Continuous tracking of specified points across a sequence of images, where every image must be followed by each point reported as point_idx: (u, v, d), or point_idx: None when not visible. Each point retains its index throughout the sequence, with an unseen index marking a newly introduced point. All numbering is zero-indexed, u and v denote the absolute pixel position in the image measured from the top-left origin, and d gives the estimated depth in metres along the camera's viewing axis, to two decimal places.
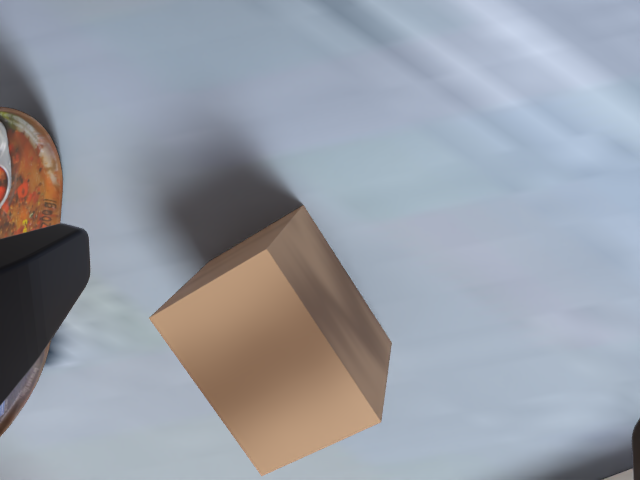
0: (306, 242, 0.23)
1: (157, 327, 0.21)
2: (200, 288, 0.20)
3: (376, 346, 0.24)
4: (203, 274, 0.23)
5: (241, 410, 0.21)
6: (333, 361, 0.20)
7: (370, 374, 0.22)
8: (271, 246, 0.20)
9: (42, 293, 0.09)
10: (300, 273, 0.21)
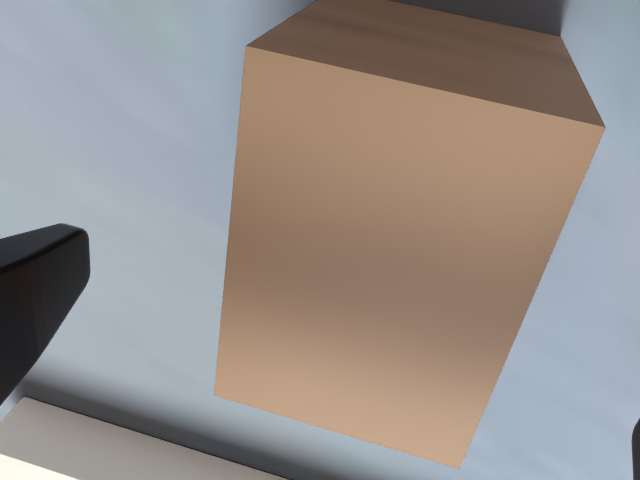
0: None
1: (247, 76, 0.09)
2: (402, 82, 0.08)
3: None
4: (358, 25, 0.11)
5: (269, 307, 0.11)
6: (490, 364, 0.10)
7: None
8: (597, 122, 0.08)
9: (42, 293, 0.09)
10: None
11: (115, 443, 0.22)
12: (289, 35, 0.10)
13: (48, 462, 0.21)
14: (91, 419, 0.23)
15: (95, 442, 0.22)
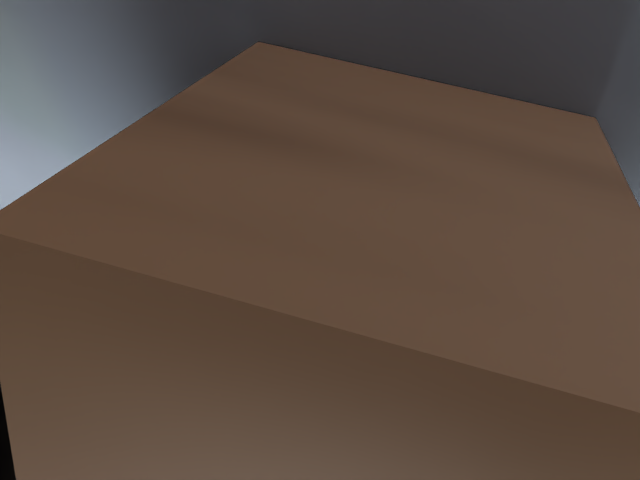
0: None
1: None
2: (299, 319, 0.04)
3: None
4: (264, 127, 0.06)
5: None
6: None
7: None
8: None
9: None
10: None
11: None
12: (107, 174, 0.05)
13: None
14: None
15: None
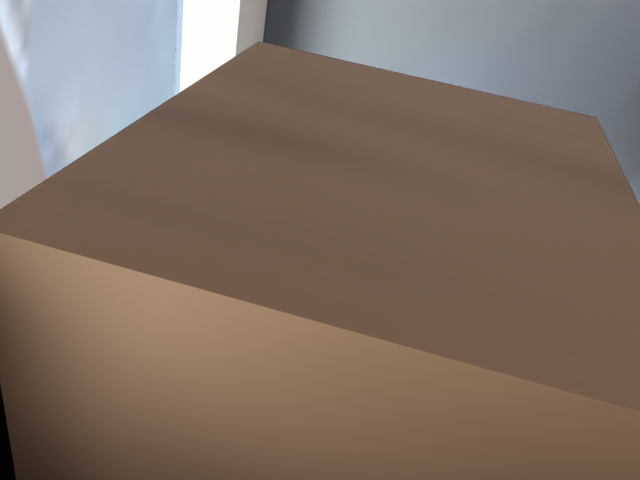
0: None
1: None
2: (300, 318, 0.04)
3: None
4: (264, 126, 0.06)
5: None
6: None
7: None
8: None
9: None
10: None
11: None
12: (107, 173, 0.05)
13: None
14: None
15: None
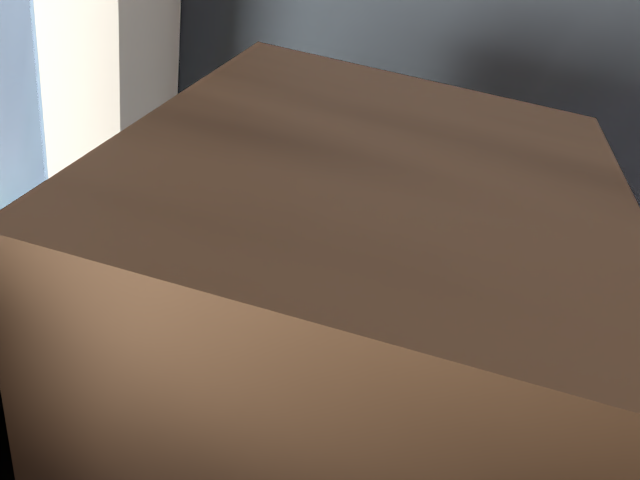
0: None
1: None
2: (299, 321, 0.04)
3: None
4: (264, 127, 0.06)
5: None
6: None
7: None
8: None
9: None
10: None
11: None
12: (106, 175, 0.05)
13: None
14: None
15: None
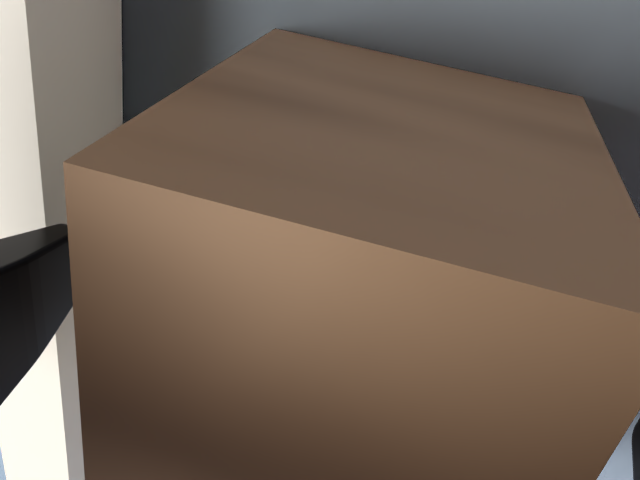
0: None
1: (72, 208, 0.05)
2: (327, 232, 0.05)
3: None
4: (288, 95, 0.07)
5: None
6: None
7: None
8: None
9: (42, 293, 0.09)
10: None
11: None
12: (161, 128, 0.06)
13: None
14: None
15: None
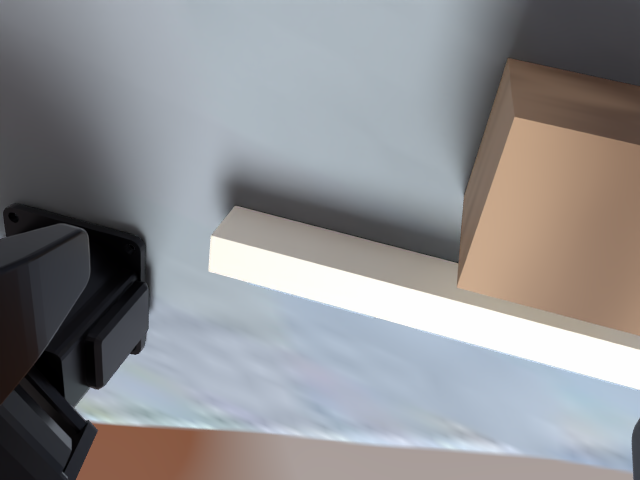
0: (546, 84, 0.17)
1: (472, 289, 0.17)
2: (481, 217, 0.16)
3: None
4: (470, 207, 0.19)
5: (634, 305, 0.16)
6: None
7: None
8: (517, 111, 0.15)
9: (42, 293, 0.09)
10: (572, 113, 0.15)
11: (333, 241, 0.23)
12: (461, 257, 0.18)
13: (279, 249, 0.22)
14: (304, 224, 0.24)
15: (315, 239, 0.23)
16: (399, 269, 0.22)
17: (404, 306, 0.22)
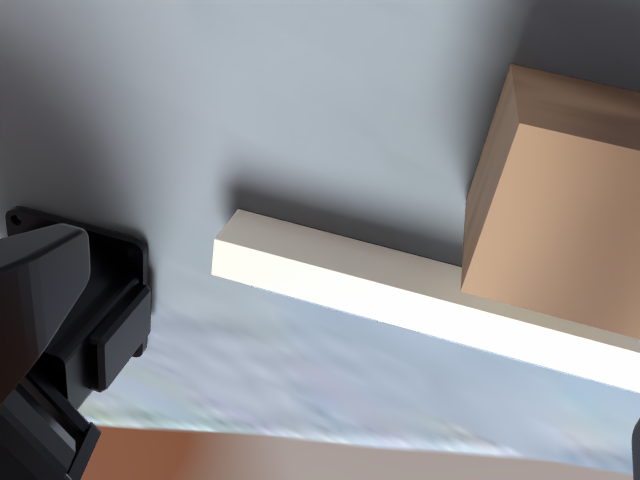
0: (549, 90, 0.17)
1: (476, 293, 0.17)
2: (485, 221, 0.16)
3: None
4: (473, 211, 0.19)
5: (636, 309, 0.16)
6: None
7: None
8: (522, 117, 0.15)
9: (42, 293, 0.09)
10: (576, 120, 0.15)
11: (336, 244, 0.23)
12: (465, 261, 0.18)
13: (283, 253, 0.22)
14: (306, 227, 0.24)
15: (318, 243, 0.23)
16: (402, 272, 0.22)
17: (407, 309, 0.22)
